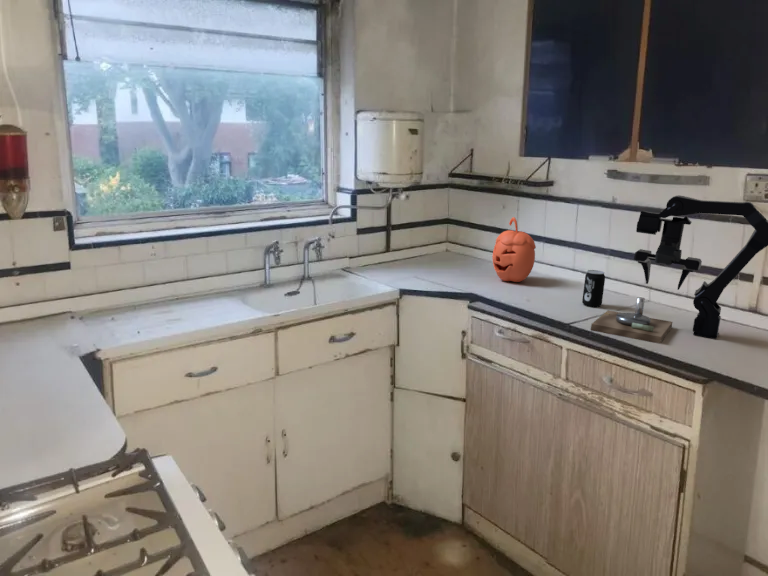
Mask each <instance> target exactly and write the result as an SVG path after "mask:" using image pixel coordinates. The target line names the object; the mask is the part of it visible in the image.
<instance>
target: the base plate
mask: <svg viewBox="0 0 768 576" xmlns="http://www.w3.org/2000/svg"><path fill="white" fill-rule="evenodd" d="M618 313H621V312H619V311H613V310H606V311H605V312H603V314H602V315H600V316H599V317H598V318H596V320H594V321H593V322H592V323H591V326H590V331H593V332H594V331H595V332H597V333H599V332H600V333H603V334H610V335H615V336H620V337H625V338H630V339H635V340H640V341H645V342H650V343H656V344H661V343H662V341H663V340H664V339H665V338H666V336H667V335H668V333H669V332H670V331H671V329H672V328H673V321H670V320H664V319H658V318H654V317H653V318H652V317H649V318H650V319H651V322H650V325H649V326H648V325H643V324H637V323H632V326H629V325H625V324H622V323H619V322H617V321H616V315H617V314H618Z"/></svg>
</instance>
